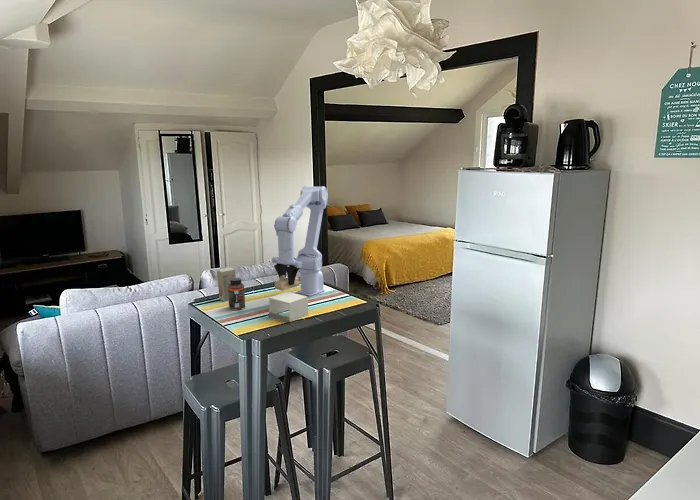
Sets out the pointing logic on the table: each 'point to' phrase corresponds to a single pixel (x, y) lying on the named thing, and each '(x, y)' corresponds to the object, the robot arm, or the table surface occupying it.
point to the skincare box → (225, 282)
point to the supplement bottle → (236, 294)
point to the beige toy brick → (285, 283)
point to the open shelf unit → (288, 306)
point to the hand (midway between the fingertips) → (287, 283)
